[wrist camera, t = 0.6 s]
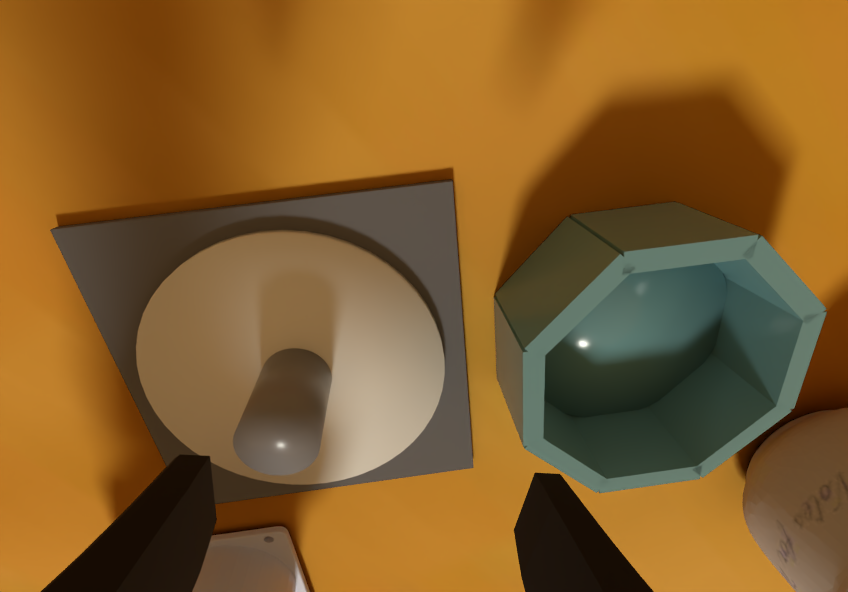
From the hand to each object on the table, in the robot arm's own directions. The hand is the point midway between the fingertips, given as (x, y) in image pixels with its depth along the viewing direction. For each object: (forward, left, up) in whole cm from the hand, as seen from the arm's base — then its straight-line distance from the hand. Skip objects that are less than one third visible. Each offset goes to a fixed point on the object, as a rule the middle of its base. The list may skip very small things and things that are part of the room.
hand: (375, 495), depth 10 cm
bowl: (+10, -3, -10) cm, 15 cm away
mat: (-4, -3, -10) cm, 11 cm away
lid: (-4, -3, -10) cm, 11 cm away
